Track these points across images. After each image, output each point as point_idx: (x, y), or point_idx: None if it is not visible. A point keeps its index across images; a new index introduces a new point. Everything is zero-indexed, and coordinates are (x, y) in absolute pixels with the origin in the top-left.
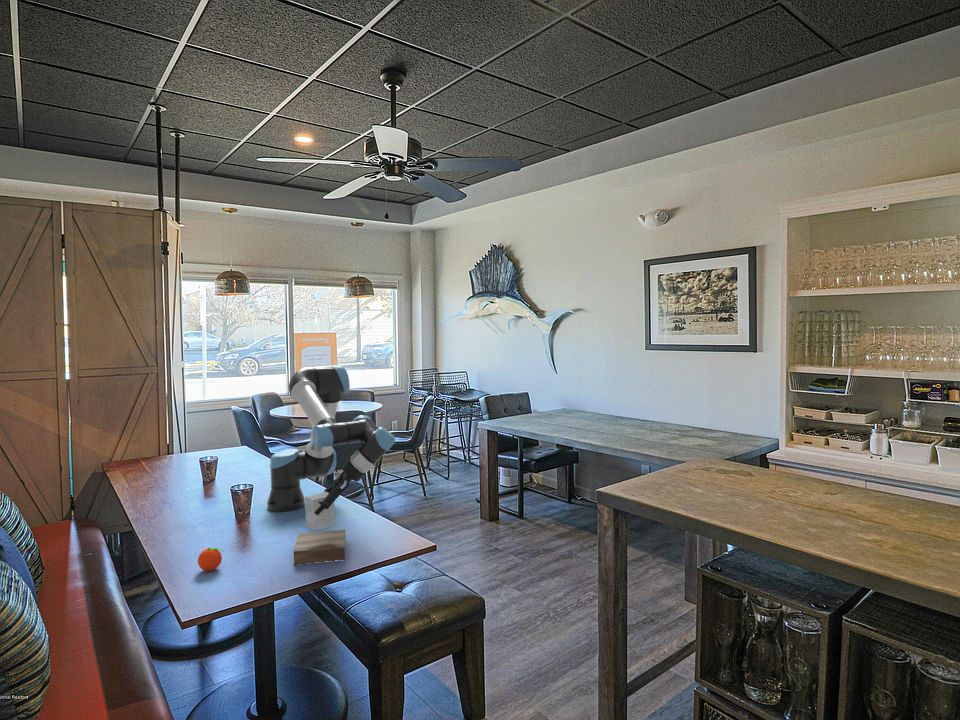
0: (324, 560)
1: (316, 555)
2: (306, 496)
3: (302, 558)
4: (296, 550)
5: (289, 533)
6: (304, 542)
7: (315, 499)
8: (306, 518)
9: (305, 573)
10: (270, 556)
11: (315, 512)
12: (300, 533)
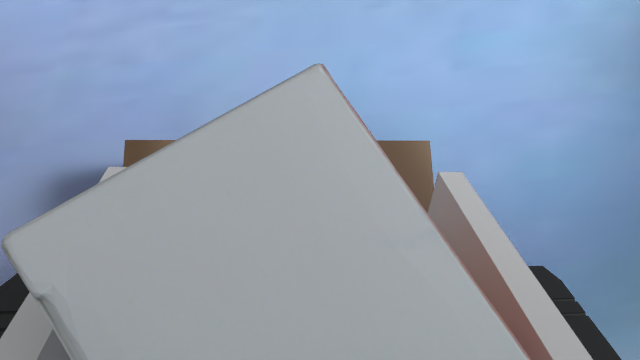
0: None
1: None
2: (328, 83)
3: None
4: (137, 155)
5: (579, 102)
6: None
7: (45, 294)
8: (107, 176)
9: None
10: (295, 41)
11: (2, 292)
12: (424, 155)
